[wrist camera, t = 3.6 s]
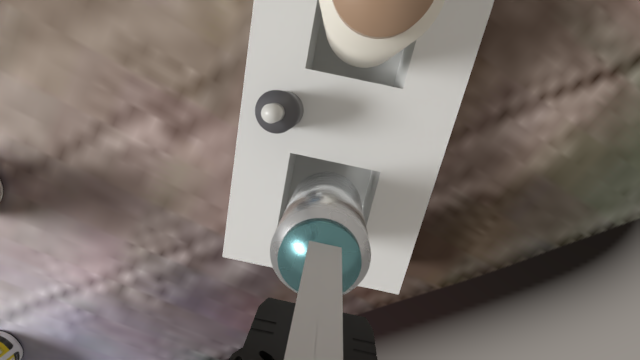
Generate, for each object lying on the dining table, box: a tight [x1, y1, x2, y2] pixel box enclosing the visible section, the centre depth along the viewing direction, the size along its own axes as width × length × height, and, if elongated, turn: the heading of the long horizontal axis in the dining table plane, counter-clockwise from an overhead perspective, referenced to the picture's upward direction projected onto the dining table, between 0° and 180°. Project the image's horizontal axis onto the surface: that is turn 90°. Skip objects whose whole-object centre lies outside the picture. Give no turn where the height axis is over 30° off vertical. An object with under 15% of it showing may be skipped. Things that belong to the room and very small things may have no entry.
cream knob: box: [319, 0, 445, 68], centre depth 14 cm, size 5×5×8 cm
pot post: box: [255, 90, 304, 134], centre depth 18 cm, size 2×2×5 cm
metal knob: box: [270, 172, 371, 295], centre depth 18 cm, size 5×5×8 cm
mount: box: [222, 0, 494, 294], centre depth 22 cm, size 24×14×5 cm, turn 169°
